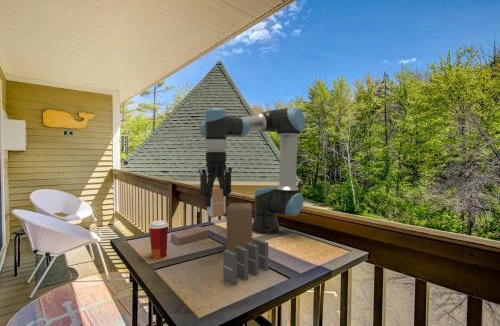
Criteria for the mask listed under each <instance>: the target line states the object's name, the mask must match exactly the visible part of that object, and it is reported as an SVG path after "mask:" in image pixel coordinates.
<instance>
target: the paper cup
mask: <svg viewBox="0 0 500 326" xmlns="http://www.w3.org/2000/svg"><path fill="white" fill-rule="evenodd" d="M169 225H170V224H169V223H168V221H167V220H163V219H162V220H154V221H151V222H150V223H149V224H148V228H149V239H150V250H151V251H150V252H151V258H152V259H153V258H156V259H155V260H161V259H160V258H162V259H165V258H166V257H167V252H168V249H167V248H168V235H169V234H168V232H169V231H168V228H169ZM164 257H165V258H164Z"/></svg>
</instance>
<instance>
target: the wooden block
mask: <svg viewBox="0 0 500 326" xmlns="http://www.w3.org/2000/svg"><path fill="white" fill-rule="evenodd" d="M252 224H253V203H249V202H248V203H247V202H246V203H245V202H230V203H229V205H228V206H227V207H226V250H230V251H232V252H234V253H235V247H236V246H240V247H243V248H245V249H246V243H248V242H249V243H252V244H253V231H252Z"/></svg>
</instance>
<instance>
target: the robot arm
mask: <svg viewBox="0 0 500 326" xmlns="http://www.w3.org/2000/svg"><path fill="white" fill-rule="evenodd" d="M305 128H306V118H305V115H304V113H303V111H302V110H301V108H298V107H295V106H294V107H285V108H279V109H271V110H268V111H264V112H257V113H256V114H253V115H248V116H239V117H237V116H227V111H226V109H224V108H220V107H219V108H218V107H216V108H213V107H212V108H208V109H206V111H205V116H204V120H203V121H202V122H201V123H200V126H199V133H200V134H201V136H203V137H204V138H205V151H206V152H205V162H206V164H205V166H204V167H203V168H199V169H198V173H199V177H200V178H199V179H200V180H199V181H200V187H199V188H200V189H199V190H200V195H199V196H200V197H204V198H205V202H204V203H205V207H207V208H206V215H207V216H209V217H210V216H213V198H211V195H212V190H213V189H214V185H215V181H216V178H217V181H218V185H219V189H220V188H221V189H223V214H227V207H226V204H227V203H228V196H229V195H230V194H231V193H232V171H233V168H232V167H228V166H227V164H226V162H227V152H226V150H227V137H228V138H229V137H238V138H240V137H243V138H244V137H245V136H247V135H248V134H249V133H251V132H257V133H263V132H267V133H276V135H277V137H279V166H278V167H279V171H278V172H279V175H278V181H279V182H278V186H276V187H275V186H273V187H270V186H269V187H262V188H257V189H255V191H254V217H253V220H252V233H256V234H261V235H271V234H277V233H279V232H280V224H279V223H278V222H279V221H278V218H277V214H279V215H284V216H289V217H296V216H298V215H299V214H300V212H301V211H302V209H303V207H304V196H303V194H302V193H301V192H300V188H299V187H298V186H297V165H298V164H297V163H298V162H297V159H298V158H297V157H298V155H297V153H298V138H299V137H300V136H301V132H302V131H304V130H305Z"/></svg>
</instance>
